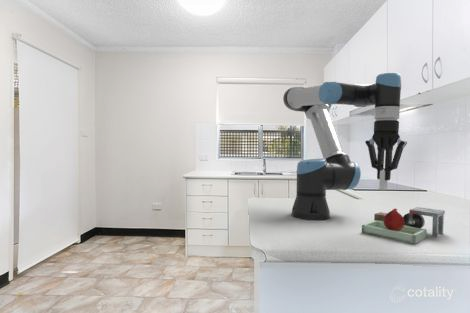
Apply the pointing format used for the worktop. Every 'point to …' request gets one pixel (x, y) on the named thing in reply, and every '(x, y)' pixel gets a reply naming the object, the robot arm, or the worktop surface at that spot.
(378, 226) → the tray
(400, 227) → the onion
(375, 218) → the block
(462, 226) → the worktop surface
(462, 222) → the worktop surface
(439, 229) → the caster wheel
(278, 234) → the worktop surface
